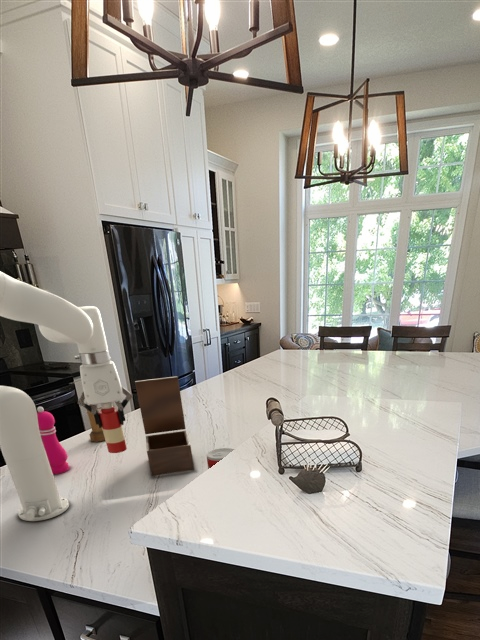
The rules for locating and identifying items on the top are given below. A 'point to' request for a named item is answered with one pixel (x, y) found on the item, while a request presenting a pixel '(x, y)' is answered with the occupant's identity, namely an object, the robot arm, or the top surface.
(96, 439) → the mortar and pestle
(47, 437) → the pepper mill
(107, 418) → the ketchup bottle
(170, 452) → the bread box
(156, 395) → the bread box lid
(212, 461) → the canned food
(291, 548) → the top surface
